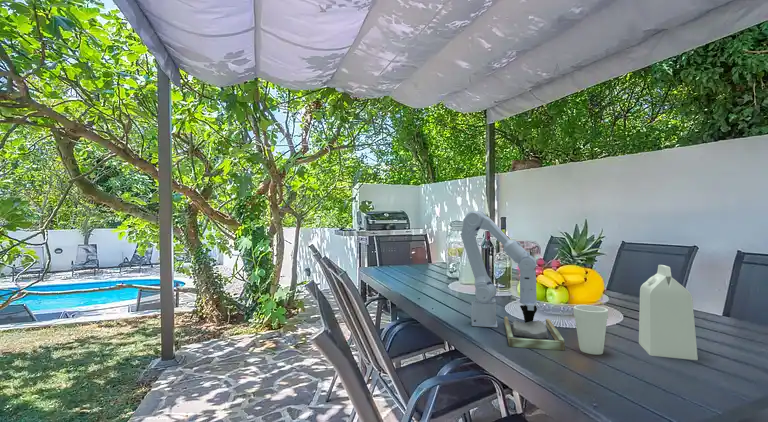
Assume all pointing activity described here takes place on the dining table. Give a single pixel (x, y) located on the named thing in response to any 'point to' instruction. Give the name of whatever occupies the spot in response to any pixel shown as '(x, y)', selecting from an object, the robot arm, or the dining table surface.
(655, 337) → the milk
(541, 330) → the stone block
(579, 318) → the foam cup
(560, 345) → the channel
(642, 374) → the dining table surface
